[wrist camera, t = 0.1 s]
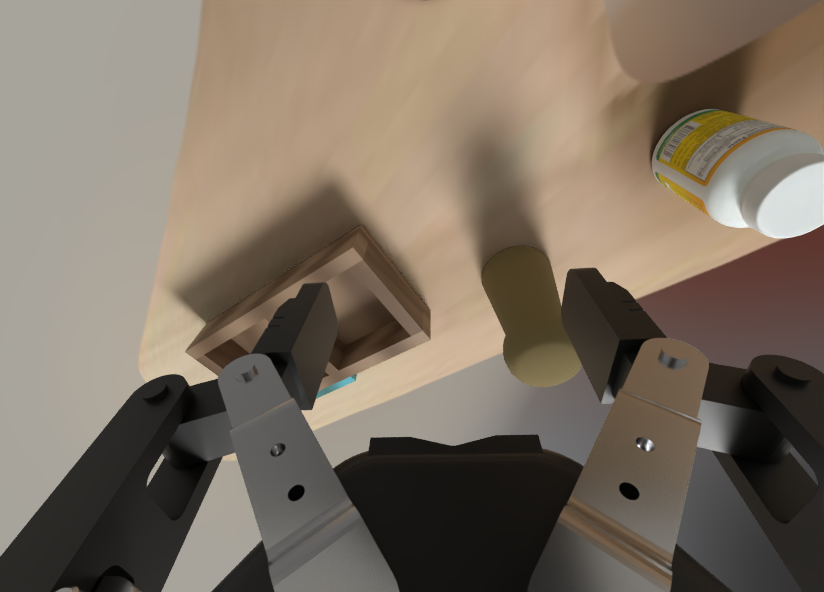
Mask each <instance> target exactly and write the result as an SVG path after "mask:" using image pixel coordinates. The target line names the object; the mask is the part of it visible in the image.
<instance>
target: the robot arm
mask: <svg viewBox="0 0 824 592" xmlns="http://www.w3.org/2000/svg"><path fill="white" fill-rule="evenodd" d="M561 318H562V324H563V327H564V329H565V331H566V333H567V335H568V337H569V339H570V341H571V343H572V345H573V347H574V349H575V351H576V353H577V355H578V358H579V360H580V362H581V364H582V366H583V368H584V370H585V372H586V374H587V376H588V378H589V380H590V382H591V384H592V386H593V388H594V390H595V392H596V394H597V396H598V398H599V400H600V403H601V404H609V403H610V404H611V403H613V404H612V407H611V409H610V411H609V413H608V415H607V417H606V420H605V422H604V424H603V426H602V428H601V431H600V433H599V435H598V437H597V439H596V441H595V444H594V446H593V448H592V450H591V452H590V455H589V457H588V459H587V461H586V463H585V465H584V466H582V465H581V464H579V463H578V462H576V461H574V460H572V459H570V458H568V457H566V456H564V455H561V454H559V453H556V452H553V451H550V450H547V449H542V447H541V444H540V440H539V436H538V435H499V436H498V435H496V436H492V437H488V438H484V439H480V440H476V441H472V442H468V443H465V444H461V445H456V446H450V445H445V444H440V443H436V442H431V441H427V440H422V439H417V438H412V437H387V438H386V437H382V438H371V439H370V446H369V451H367V452H363V453H360V454H358V455H356V456H353V457H351V458H349V459H347V460H345V461H344V462H342V463H341V464H339V465H338V466H336V467H335V468H332V466H331V465H330V463H329V461H328V459H327V457H326V455H325V454H324V452H323V450H322V448H321V447H320V445H319V443H318V441H317V439H316V437H315V435H314V434H313V432H312V430H311V428H310V426H309V425H308V423H307V421H306V419H305V417H304V415H303V414H302V412H301V410H312V408H313V405H314V402H315V400H316V397H317V394H318V391H319V388H320V385H321V382H322V379H323V376H324V373H325V370H326V367H327V364H328V361H329V358H330V355H331V352H332V349H333V346H334V343H335V340H336V337H337V332H338V322H337V317H336V313H335V309H334V305H333V301H332V297H331V293H330V289H329V286H328V284H327V283H326V282H319V283H304V284H303V285H302V287H301V289H300V290H299V292H298V294H297V296H296V298H289V299H288V300H287V301H286V302H285V303H283V304H282V305H281V306H280V307H278V309H277V311H276V312H275V314H274V316H273V319H271V321H270V322H269V324H268V328H266V329H265V331H264V332H263V334H262V336H261V337H260V339H259V341H258V342H257V344H256V345H255V347H254V349H253V350H252V352H251V354H249V355H245V356H242V357H240V358H238V359H236V360H234V361H232V362H231V363H229V364H228V365H227V366H226V367H225V368H224V369H223V370H222V371H221V373H220V374H219V377H218V379H215V380H211V381H208V382H204V383H200V384H196V385H193V386H189V385H188V383H187V381H186V380H185V378H184V377H182V376H180V375H176V374H171V375H165V376H161V377H158V378H156V379H153V380H151V381H149V382H147V383H146V384H144V385H142V386H141V387H140V388H139V389H137V390H136V391H135V392H134V393H133V394H132V395H131V396H130V398H129V399H128V400H127V401H126V403H125V404H124V405H123V406H122V407H121V409H120V410H119V411H118V412H117V414H116V415H115V416H114V417H113V418H112V420H111V421H110V422H109V423H108V425H107V426H106V427H105V428H104V430H103V431H102V432H101V433H100V434H99V436H98V437H97V438H96V440H95V441H94V442H93V443H92V444H91V446H90V447H89V448H88V449H87V451H86V452H85V453H84V454H83V456H82V457H81V458H80V459H79V461H78V462H77V463H76V464H75V465H74V467H73V468H72V469H71V470H70V471H69V473H68V474H67V475H66V477H65V478H64V479H63V480H62V481H61V483H60V484H59V485H58V486H57V487H56V489H55V490H54V491H53V492H52V494H51V495H50V496H49V497H48V499H47V500H46V501H45V502H44V503H43V505H42V506H41V507H40V508H39V510H38V511H37V512H36V513H35V515H34V516H33V517H32V518H31V520H30V521H29V522H28V523H27V525H26V526H25V527H24V528H23V529H22V531H21V532H20V533H19V534H18V536H17V537H16V538H15V539H14V540H13V542H12V543H11V544H10V546H9V547H8V548H7V549H6V551H5V552H4V553H3V554H2V555H1V557H0V592H161V591H162V589H163V587H164V584H165V582H166V580H167V578H168V576H169V573H170V571H171V569H172V567H173V565H174V563H175V560H176V558H177V556H178V554H179V552H180V549H181V547H182V545H183V543H184V541H185V538H186V536H187V534H188V532H189V530H190V527H191V525H192V523H193V521H194V519H195V516H196V514H197V512H198V510H199V507H200V505H201V503H202V501H203V499H204V496H205V494H206V492H207V490H208V488H209V486H210V483H211V481H212V479H213V477H214V475H215V473H216V470H217V468H218V466H219V464H220V462H221V459H222V457H223V456H225V455H229V454H232V453H235V452H236V456H237V459H238V462H239V465H240V468H241V472H242V475H243V478H244V481H245V485H246V488H247V492H248V495H249V498H250V501H251V505H252V508H253V511H254V514H255V518H256V521H257V524H258V527H259V531H260V534H261V537H262V541H261V542H260V543H259V544H258V545H257V546H256V547H255V548H254V549H253V550H252V551H251V552H250V553H249V554H248V555H247V556H246V557H245V558H244V559H243V560H242V561H241V562H240V563H239V564H238V565H237V566H236V567H235V568H234V569H233V570H232V571H231V572H230V573H229V574H228V575H227V576H226V577H225V578H224V580H222V581H221V582H220V583H219V585H217V587H216V588H215V589H214V590H213V591H212V592H733V591H732V590H731V589H729V588H728V587H727V586H726V585H725V584H724V583H722V582H721V581H720V580H719V579H718V578H716V577H715V576H714V575H713V574H712V573H710V572H709V571H708V570H707V569H706V568H705V567H703V566H702V565H701V564H700V563H699V562H697V561H696V560H695V559H694V558H693V557H692V556H690V555H689V554H688V553H687V552H686V551H684V550H683V549H682V548H681V547H680V546H679V545H677V544H676V540H677V535H678V531H679V526H680V521H681V517H682V511H683V508H684V503H685V498H686V494H687V489H688V485H689V480H690V475H691V470H692V466H693V461H694V457H695V452H696V448H697V447H702V448H706V449H709V450H712V451H713V453H714V454H715V456H716V458H717V459H718V461H719V462H720V464H721V465H722V467H723V469H724V470H725V472H726V473H727V475H728V476H729V478H730V480H731V481H732V482H733V484H734V486H735V487H736V489H737V490H738V492H739V494H740V495H741V497H742V498H743V500H744V501H745V503H746V505H747V506H748V508H749V509H750V511H751V512H752V514H753V516H754V517H755V519H756V520H757V522H758V523H759V525H760V527H761V528H762V530H763V531H764V533H765V534H766V536H767V537H768V539H769V541H770V542H771V544H772V545H773V547H774V548H775V550H776V552H777V553H778V554H779V556H780V558H781V559H782V561H783V563H784V564H785V566H786V567H787V569H788V570H789V572H790V573H791V575H792V577H793V578H794V580H795V581H796V583H797V584H798V586H799V588H800V589H801V591H802V592H824V374H823V373H822V372H820V371H819V370H817V369H815V368H814V367H812V366H810V365H808V364H806V363H804V362H801V361H798V360H795V359H792V358H789V357H784V356H778V355H761V356H757V357H755V358H754V359H753V360H752V361H751V363H750V365H749V366H748V368H747V369H742V368H735V367H730V366H724V365H718V364H713V363H708V360H707V358H706V357H705V356H704V355H703V354H702V353H701V352H700V351H699V350H697V349H696V348H694V347H693V346H691V345H688V344H687V343H684V342H681V341H678V340H675V339H669V338H667V337H666V336H665V335H664V334H663V332H662V331H661V330H660V329H659V328H658V326H657V325H656V324H655V323H654V322H653V321H652V319H651V318H650V317H649V316H648V314H647V313H646V312H645V311H643V308H642V307H641V306H640V305H639V304H638V303H636V300H635V299H634V298H633V296H632V295H631V294H630V293H629V292H628V290H626V289H624V288H623V287H621V286H619V285H618V284H616V283H614V282H606V280H605V279H604V278H603V276H602V275H601V274H600V273H599V271H598V270H597V269H596V268H579V269H570V270H569V271H568V273H567V277H566V283H565V289H564V295H563V301H562V308H561ZM793 447H794V448H795V449H796V450H797V451H798V453H799V454H800V455H801V456H802V457H803V458H804V460H805V461H806V462H807V463H808V464H809V465H810V467H811V468H812V469H813V471H814V472H815V475H816V477H817V480H818V486H817V484H816V483H815V482H814V481H813V480H812V478H811V477H810V476H809V475H808V474H807V472H806V471H805V470H804V469H803V468H802V466H801V465H800V464H799V463H798V462H797V460H796V459H795V458H794V457H793V456H792V454H791V453H790V451H791V449H792V448H793ZM161 454H163V456H164V457H165V458H164V460H163V462H162V463H161V465H160V466H159V468H158V470H157V472H156V473H155V475H154V476H153V478H152V480H151V482H150V483H149V485H148V486H147V479H148V476H149V474H150V472H151V470H152V469H153V467H154V465H155V464H156V462H157V461H158V459H159V457H160V456H161Z"/></svg>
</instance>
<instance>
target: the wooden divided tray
mask: <svg viewBox="0 0 824 592" xmlns="http://www.w3.org/2000/svg"><path fill="white" fill-rule="evenodd" d="M319 282H326V283H327V284H328V286H329V289H330V293H331V297H332V301H333V305H334V309H335V313H336V317H337V322H338V332H337V337H336V340H335V343H334V346H333V349H332V352H331V355H330V358H329V361H328V364H327V367H326V370H325V373H324V376H323V379H322V382H321V385H320V388H319V391H318V394H317V397H316V398H318V397H321V396H323V395H325V394H327V393H330V392H332V391H334V390H336V389H338V388H341V387H343V386H345V385H347V384H349V383H352V382H354V381H356V376H357V375H356V374H357V373H359V372H361V371H364V370H366V369H368V368H370V367H372V366H374V365H377V364H379V363H381V362H383V361H385V360H387V359H390V358H392V357H394V356H396V355H398V354H400V353H403V352H405V351H407V350H409V349H411V348H414V347H416V346H418V345H420V344H422V343H424V342H427V341H429V340H430V310H429V309H428V308H427V306H426V305H425V304H424V302H423V301H422V300H421V299H420V297H419V296H418V295H417V294H416V292H415V291H414V290H413V289H412V287H411V286H410V285H409V284H408V282H407V281H406V280H405V279H404V277H403V276H402V275H401V274H400V272H399V271H398V270H397V269H396V267H395V266H394V265H393V264H392V262H391V261H390V260H389V258H388V257H387V256H386V255H385V253H384V252H383V251H382V250H381V248H380V247H379V246H378V245H377V243H376V242H375V241H374V240H373V238H372V237H371V236H370V235H369V233H368V232H367V231H366V230H365V228H364V227H363V226H362V225H359V226H358V227H356V228H355V229H353V230H352V231H350V232H349V233H347V234H345V235H344V236H342V237H341V238H339V239H338V240H336V241H335V242H333V243H331V244H330V245H328V246H327V247H325V248H324V249H322V250H321V251H319V252H317V253H316V254H314V255H313V256H311V257H310V258H308V259H307V260H305V261H303V262H302V263H300V264H299V265H297V266H296V267H294V268H293V269H291V270H289V271H288V272H286V273H285V274H283V275H282V276H280V277H278V278H277V279H275V280H274V281H272V282H271V283H269V284H268V285H266V286H264V287H263V288H261V289H260V290H258V291H257V292H255V293H254V294H252V295H250V296H249V297H247V298H246V299H244V300H243V301H241V302H240V303H238V304H236V305H235V306H233V307H232V308H230V309H229V310H227V311H226V312H224V313H222V314H221V315H219V316H218V317H216V318H215V319H213V320H212V321H210V322H208V323H207V324H206V325H205V326H204V328H203V329H202V330H201V332H200V333H199V334H198V335H197V337H196V338H195V339H194V341H193V342H192V343H191V344H190V346H189V347H188V348H187V350H186V351H185V352H186V353H187V354H189V355H190V356H192V357H193V358H194V359H196V360H197V361H198V362H200V363H201V364H203V365H204V366H205V367H207V368H208V369H209V370H211V371H212V372H213V373H215V374H216V375H218V376H219V374H220V373H221V371H222V370H223V369H224V368H225V367H226V366H227V365H228V364H229V363H231V362H232V361H234V360H236V359H238V358H240V357H242V356H245V355H249V354H251V352H252V350H253V349H254V347H255V345H256V344H257V342H258V341H259V339H260V337H261V336H262V334H263V332H264V331H265V329H266V328H268V324H269V322H270V321H271V319H273V316H274V314H275V312H276V311H277V309H278V307H280V306H281V305H282V304H283V303H285V302H286V301H287V300H288V299H289V298H296V296H297V294H298V292H299V290H300V289H301V287H302V285H303V284H304V283H319Z"/></svg>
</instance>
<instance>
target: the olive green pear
mask: <svg viewBox="0 0 824 592" xmlns="http://www.w3.org/2000/svg"><path fill="white" fill-rule="evenodd" d="M482 285H483V287H484V289H485V292H486V294H487V296H488V298H489V300H490V302H491V304H492V307H493V309H494V311H495V313H496V315H497V317H498V319H499V322H500V324H501V326H502V328H503V330H504V332H505V335H506V336H505V339H504V344H503V355H504V360H505V362H506V364H507V366H508V368H509V370H510V372H511V373H512V374H513V375H514V376H515V377H517V378H518V379H519V380H520V381H522V382H523V383H526V384H528V385H531V386H537V387H548V386H554V385H558V384H561V383H563V382H565V381H567V380H569V379H571V378H572V377H573V376H574V375H575V374H577V373H578V371H579V370H580V368H581V366H582V364H581V362H580V360H579V358H578V355H577V353H576V351H575V349H574V347H573V345H572V343H571V341H570V339H569V337H568V335H567V333H566V331H565V329H564V327H563V324H562V318H561V308H562V307H561V303H560V299H559V295H558V291H557V287H556V283H555V279H554V275H553V271H552V267H551V265H550V262H549V259H548V258H547V257H546V256H545V255H544V254H543V252H541V251H539V250H537V249H535V248H533V247H526V246H517V247H510V248H507V249H505V250H502V251H500V252H499V253H497V254H496V255H495V256H493V257H492V258H491V259H490V260H489V262H488V263H487V264H486V266H485V267H484V270H483V274H482Z"/></svg>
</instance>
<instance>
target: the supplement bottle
mask: <svg viewBox="0 0 824 592" xmlns="http://www.w3.org/2000/svg"><path fill="white" fill-rule="evenodd" d="M652 170H653V174H654V176H655V178H656V179H657V180H658V181H659V182H660V183H661V184H662V185H663V186H665V187H666V188H668V189H669V190H671V191H672V192H674V193H675V194H677V195H678V196H680V197H681V198H683V199H684V200H686V201H687V202H689V203H690V204H692V205H693V206H695V207H696V208H698V209H699V210H701V211H702V212H704V213H705V214H707V215H708V216H710V217H711V218H713V219H714V220H716V221H717V222H719V223H721V224H723V225H726V226H730V227H737V228H746V227H751V228H753V229H756V230H757V231H759V232H761V233H763V234H765V235H767V236H769V237H773V238H790V237H795V236H798V235H802V234H804V233H807V232H809V231H812V230H814V229H816V228H818V227H819V226H821V225H823V224H824V152H823V149H822V147H821V145H820V144H819V142H818V141H817V140H816V139H815V138H813V137H812V136H810V135H809V134H807V133H804V132H801V131H798V130H795V129H791V128H787V127H784V126H779V125H776V124H772V123H769V122H765V121H761V120H757V119H753V118H750V117H746V116H742V115H738V114H735V113H731V112H728V111H723V110H719V109H705V110H700V111H697V112H694V113H691V114H689V115H687V116H685V117H683V118H681V119H680V120H679V121H677V122H676V123H675V124H673V125H672V126H671V127H670V128H669V129H668V130H667V131H666V132H665V133H664V134H663V136H662V137H661V139H660V140H659V142H658V144H657V145H656V148H655V150H654V153H653V157H652Z"/></svg>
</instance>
